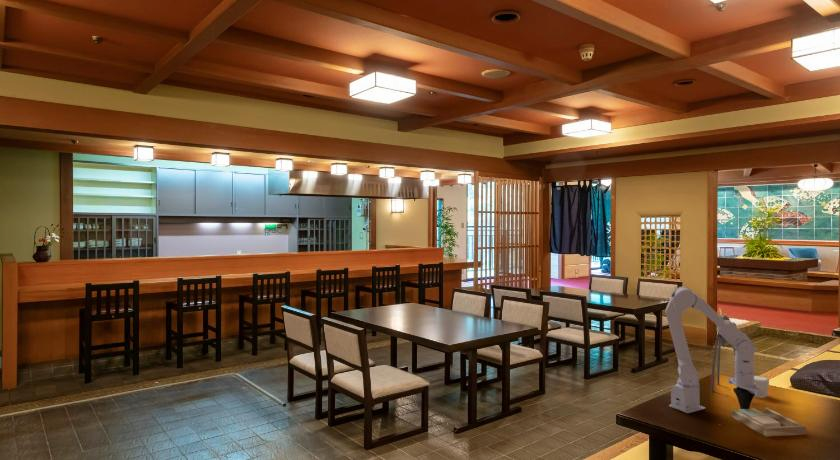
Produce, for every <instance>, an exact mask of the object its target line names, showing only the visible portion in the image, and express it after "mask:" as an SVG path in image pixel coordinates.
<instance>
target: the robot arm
mask: <svg viewBox="0 0 840 460" xmlns="http://www.w3.org/2000/svg"><path fill="white" fill-rule="evenodd" d="M688 308H692V309H694V310H699V311H701V313H703V314H704V315H705V316H706V317H707V318H708V319H709V320H710V321H711V322H712V323H714V324H715V325H717V327H716V332H717V334H718V333H719V334H721V335H722V336H723V337H724V338H725V339H726V340H727V341H726V342H727V343H728V344H729V345H733V346H732V348H733V347H734V348H735V349H736V350H735V354H734V377H733V376H730V377H728V378H727V383H728V384H732V385H734V386H735V387H734V388H733V392H734V393H735V396H736V397H737V400H738V404H739V408H740V409H750V407H751V403H752V401H753V399H754V398H755V397H754V396H762V390H760V389H759V388H758V387H757V384H756V383H754V375H755V359H754V356H755V353H756V351H757V348H756V346H755V344H754V342H753V341H752V340H751V339H750V338H749V337H748V335H747V334H746V332H745V333H743V332H742V331H741V330H740V329H739V328H738V327H737V326H738V325H737V323H736V322H734V321H731V320H730V319H729V320H730V321H729V320H723V319H722V318H721V317H720V316H721V315H719V313H717V311H715V309H714V308H713V307H711V306H710V304H708V302H707V301H706V300H704V298H702V297H701V296H699V295H698V294H697V293H695V292H693V291H692V290H691V289H690V288H689V287H687V286H678V287H677V288H676V289H675V290H674V291H673V292H672V293H671V294H670V297H669V301H668V303H667V305H666V307H665V315H666V316H665V317H666V320H667V324H668V327H669V330H670V334H671V340H672V342H673V346H674V351H675V354H676V355H675V356H676V359H677V362H678V364H677V365H678V366H677V369H676V370H677V373H678V375H679V377H678V378H677V381H676V384H675V385H674V386H672V388H671V389H670V404H668V406H669V407H670V408H672V409H676V410H678V411H681V412H683V413H686V414H690V413H695V412H698V411H701V410H705V409H706V407H705V406H702V405H700V398H701V397H700V375H699V373H698V371H697V368H696V367H695V365H694V364H693V359H692V356H691V354H690V352H691V351H690V349H689V345H688V342H687V338H686V334H685V330H684V326H683V322H682V318H681V315H682V314H683V313H684V312H685V311H686V310H687V309H688Z"/></svg>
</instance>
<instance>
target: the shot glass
mask: <svg viewBox="0 0 840 460" xmlns="http://www.w3.org/2000/svg"><path fill="white" fill-rule="evenodd" d="M754 383H756V384H757V387H758V388H759V389H760V390H762V396H755V397H754V398H756V397H767V396H768V394H769V385H770V379H769V378H768V377H766V376H761V375H755V374H754ZM767 398H768V397H767Z"/></svg>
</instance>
